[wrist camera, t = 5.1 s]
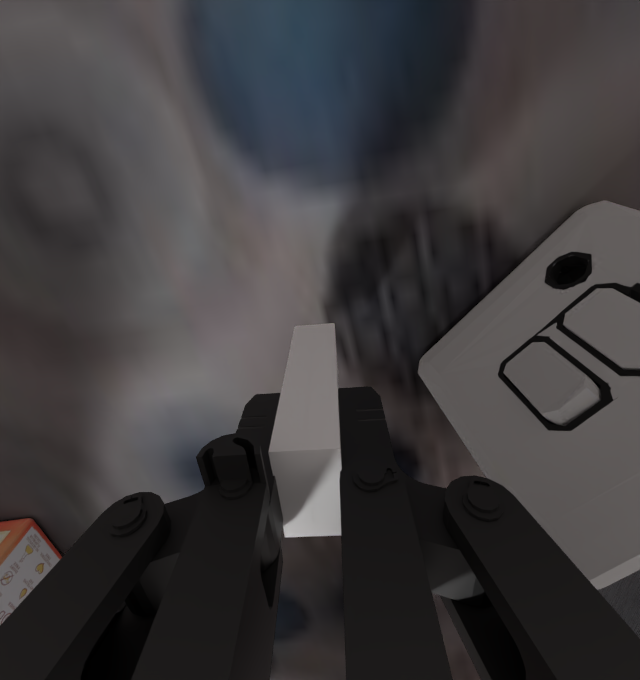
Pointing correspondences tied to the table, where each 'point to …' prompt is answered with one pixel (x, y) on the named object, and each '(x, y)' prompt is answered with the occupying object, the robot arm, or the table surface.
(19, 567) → the cracker box
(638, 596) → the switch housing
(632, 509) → the electrical switch
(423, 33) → the table surface
